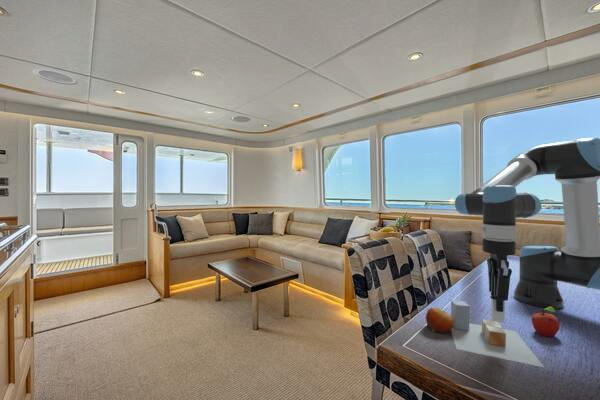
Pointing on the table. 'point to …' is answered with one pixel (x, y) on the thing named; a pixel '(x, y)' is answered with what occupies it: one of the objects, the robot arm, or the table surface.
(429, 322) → the fruit
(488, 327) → the beech block
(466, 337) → the felt mat
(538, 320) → the apple
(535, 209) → the robot arm
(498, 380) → the table surface
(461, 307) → the slate block
